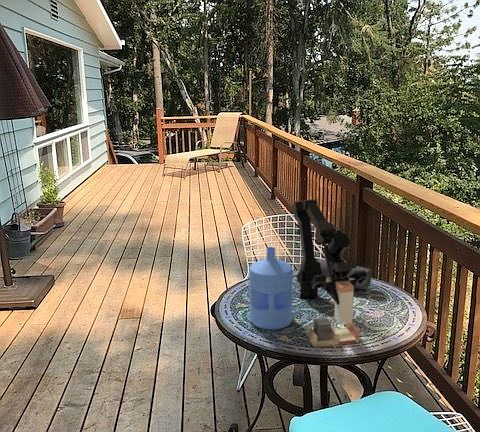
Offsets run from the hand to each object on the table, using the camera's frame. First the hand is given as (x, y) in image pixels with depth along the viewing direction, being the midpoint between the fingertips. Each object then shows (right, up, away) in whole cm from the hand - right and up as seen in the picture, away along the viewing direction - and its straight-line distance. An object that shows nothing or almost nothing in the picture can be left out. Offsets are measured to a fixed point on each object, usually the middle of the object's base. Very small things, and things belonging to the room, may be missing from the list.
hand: (345, 303), depth 163 cm
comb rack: (-4, -13, +4) cm, 14 cm away
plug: (0, -6, +3) cm, 7 cm away
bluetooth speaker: (+8, -1, +46) cm, 46 cm away
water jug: (-24, -9, +18) cm, 31 cm away
